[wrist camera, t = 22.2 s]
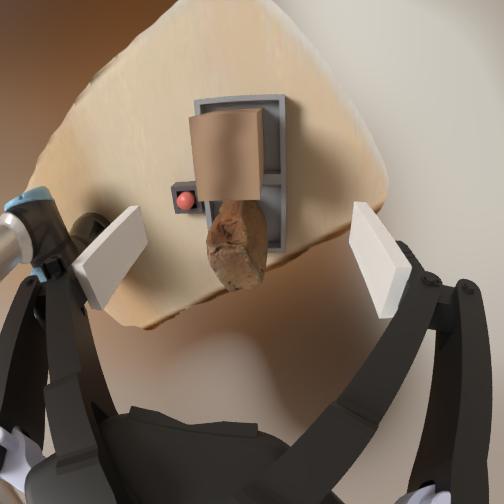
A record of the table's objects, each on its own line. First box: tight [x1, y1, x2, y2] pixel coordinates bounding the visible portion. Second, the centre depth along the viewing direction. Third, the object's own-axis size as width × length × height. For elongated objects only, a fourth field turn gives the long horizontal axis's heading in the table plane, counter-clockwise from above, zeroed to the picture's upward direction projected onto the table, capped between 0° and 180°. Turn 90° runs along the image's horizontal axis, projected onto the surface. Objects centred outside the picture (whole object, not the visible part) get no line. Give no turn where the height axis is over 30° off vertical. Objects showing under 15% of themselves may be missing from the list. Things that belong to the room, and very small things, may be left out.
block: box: [206, 200, 268, 292], centre depth 48 cm, size 11×8×20 cm
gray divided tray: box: [194, 94, 286, 252], centre depth 51 cm, size 16×32×4 cm, turn 3°
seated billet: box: [189, 108, 265, 201], centre depth 40 cm, size 8×11×20 cm
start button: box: [177, 190, 196, 210], centre depth 54 cm, size 3×3×4 cm
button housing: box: [171, 181, 205, 214], centre depth 55 cm, size 6×6×3 cm
